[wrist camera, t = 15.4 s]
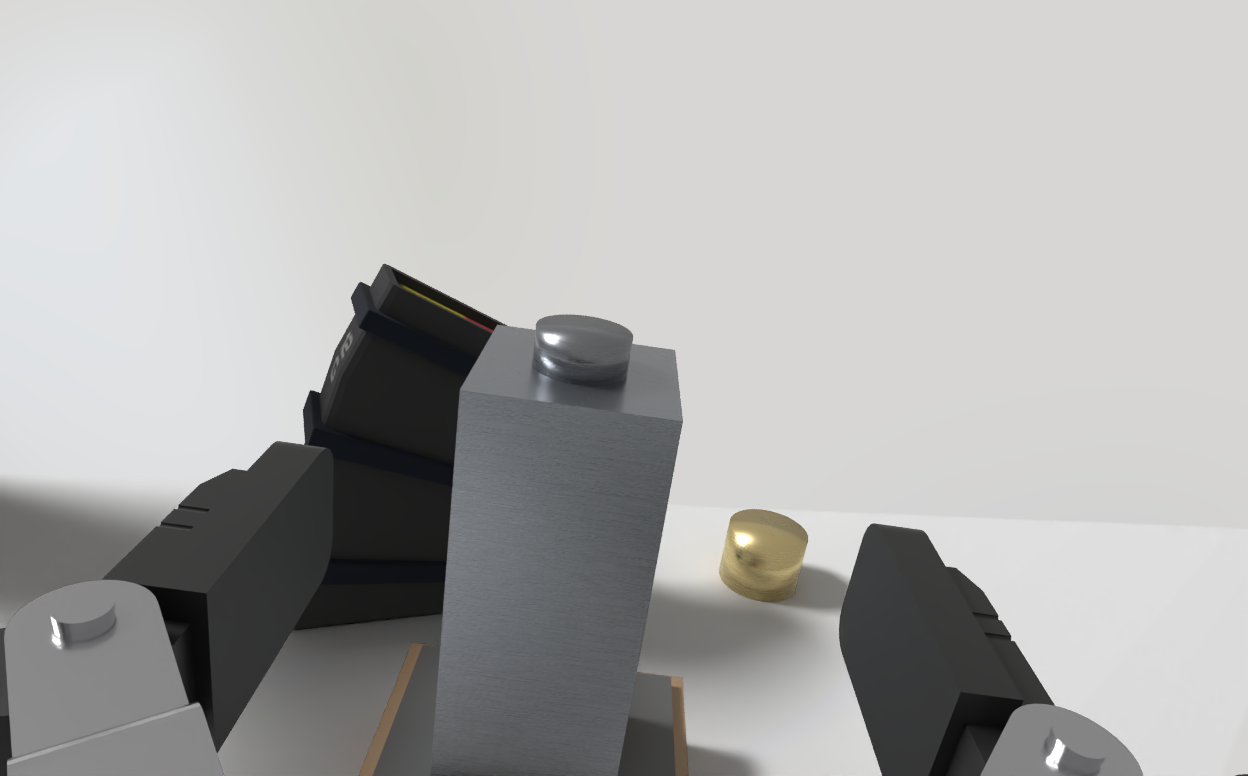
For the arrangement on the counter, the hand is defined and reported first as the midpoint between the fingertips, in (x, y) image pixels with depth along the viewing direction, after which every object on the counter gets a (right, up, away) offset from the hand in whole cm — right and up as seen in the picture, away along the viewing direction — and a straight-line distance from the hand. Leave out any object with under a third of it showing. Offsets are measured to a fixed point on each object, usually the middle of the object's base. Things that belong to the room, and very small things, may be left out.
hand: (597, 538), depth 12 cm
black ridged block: (-8, -7, +26) cm, 28 cm away
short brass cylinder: (+7, -8, +31) cm, 32 cm away
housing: (-3, -9, +13) cm, 16 cm away
